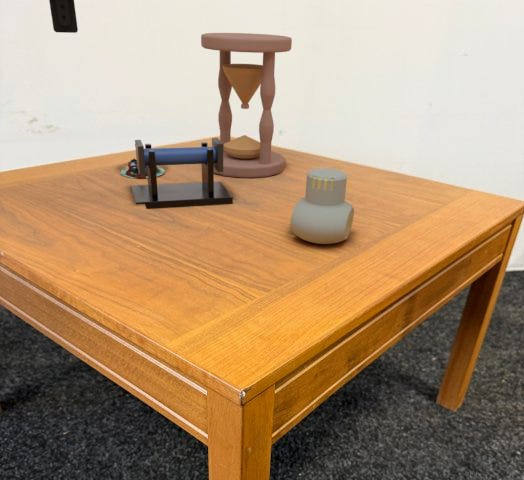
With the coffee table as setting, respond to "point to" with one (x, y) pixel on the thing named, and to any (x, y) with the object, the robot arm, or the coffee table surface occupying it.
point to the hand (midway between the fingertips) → (66, 30)
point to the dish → (134, 172)
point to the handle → (179, 155)
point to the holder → (181, 188)
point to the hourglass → (247, 101)
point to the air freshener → (323, 208)
